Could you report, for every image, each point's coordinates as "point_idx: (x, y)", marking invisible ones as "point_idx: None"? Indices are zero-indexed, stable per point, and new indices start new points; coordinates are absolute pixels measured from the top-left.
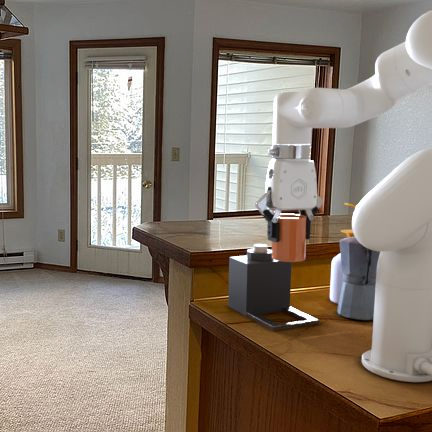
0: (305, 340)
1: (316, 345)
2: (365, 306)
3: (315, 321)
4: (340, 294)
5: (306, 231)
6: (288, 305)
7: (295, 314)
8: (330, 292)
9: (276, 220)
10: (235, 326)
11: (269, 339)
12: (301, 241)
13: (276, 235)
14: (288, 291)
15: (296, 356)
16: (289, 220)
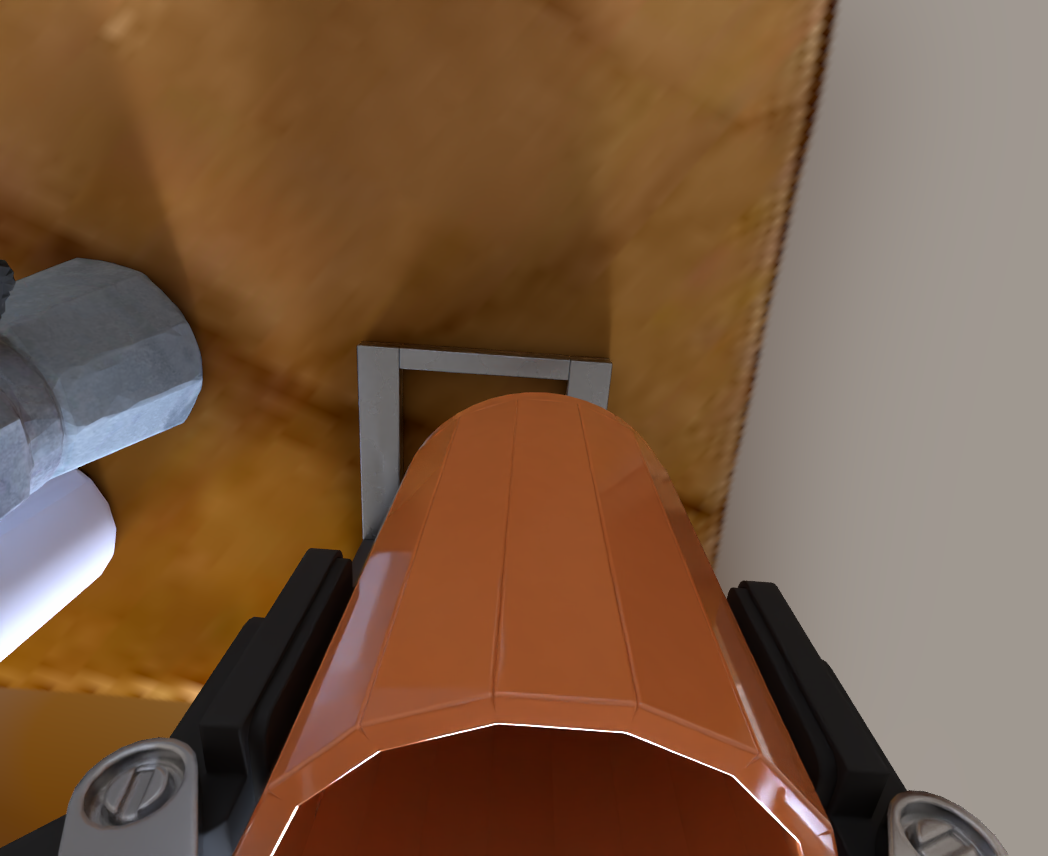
0: (558, 204)
1: (557, 128)
2: (82, 287)
3: (379, 345)
4: (123, 445)
5: (323, 617)
6: (369, 543)
7: (401, 457)
8: (88, 580)
9: (898, 831)
10: (706, 472)
11: (690, 287)
12: (512, 468)
13: (798, 633)
14: (353, 582)
15: (737, 57)
16: (751, 723)
